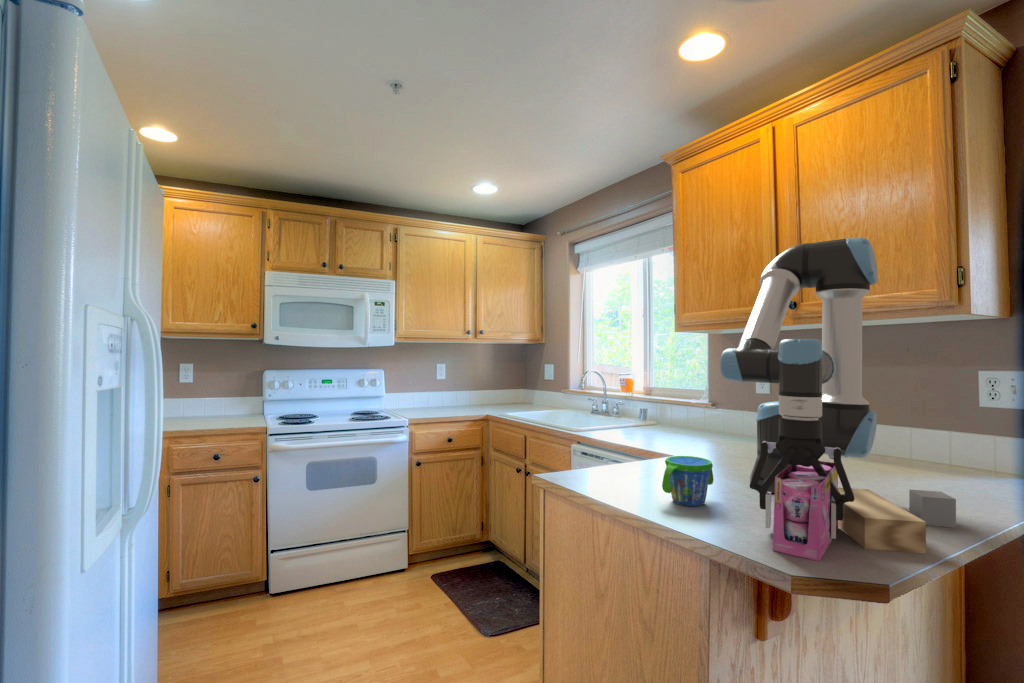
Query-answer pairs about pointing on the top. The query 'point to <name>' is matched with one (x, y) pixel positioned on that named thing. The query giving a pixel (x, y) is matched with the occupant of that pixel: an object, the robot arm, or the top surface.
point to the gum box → (803, 511)
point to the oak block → (881, 524)
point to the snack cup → (687, 479)
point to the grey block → (933, 507)
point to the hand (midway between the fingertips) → (800, 531)
